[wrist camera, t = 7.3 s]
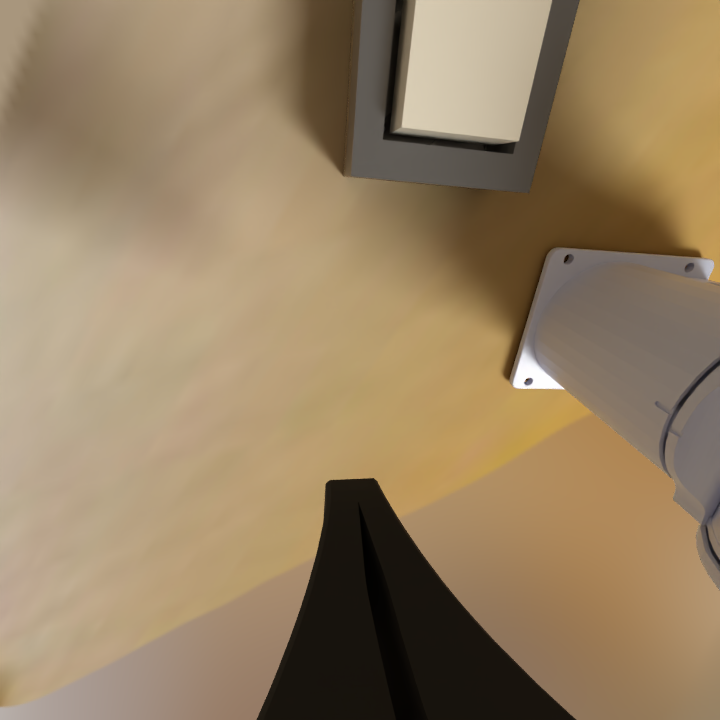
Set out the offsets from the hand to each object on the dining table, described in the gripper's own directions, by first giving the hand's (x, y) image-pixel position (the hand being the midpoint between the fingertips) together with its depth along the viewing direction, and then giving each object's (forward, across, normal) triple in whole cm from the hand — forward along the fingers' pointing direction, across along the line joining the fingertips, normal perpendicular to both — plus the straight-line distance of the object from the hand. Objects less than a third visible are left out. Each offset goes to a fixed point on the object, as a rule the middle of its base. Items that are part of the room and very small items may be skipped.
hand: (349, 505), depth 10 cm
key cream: (+8, -4, -12) cm, 15 cm away
